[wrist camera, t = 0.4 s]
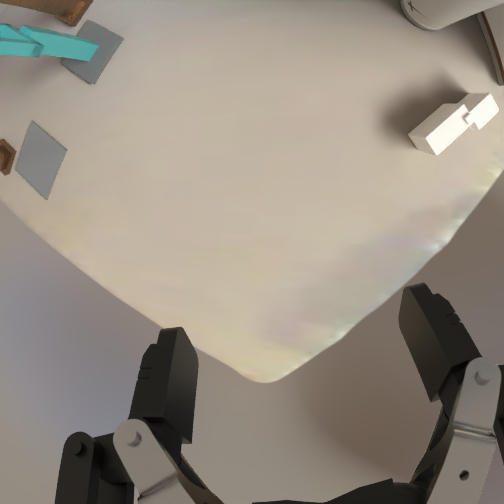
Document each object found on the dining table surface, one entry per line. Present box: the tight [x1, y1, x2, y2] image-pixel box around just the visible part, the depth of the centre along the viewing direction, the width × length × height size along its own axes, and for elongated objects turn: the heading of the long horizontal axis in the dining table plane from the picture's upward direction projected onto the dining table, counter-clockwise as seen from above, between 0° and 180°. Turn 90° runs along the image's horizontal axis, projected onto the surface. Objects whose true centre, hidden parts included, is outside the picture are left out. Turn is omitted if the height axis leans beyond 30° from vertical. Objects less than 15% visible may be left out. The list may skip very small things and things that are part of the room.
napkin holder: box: [408, 93, 499, 156], centre depth 26 cm, size 15×11×6 cm
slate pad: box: [15, 121, 67, 200], centre depth 35 cm, size 9×9×1 cm
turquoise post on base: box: [0, 20, 124, 84], centre depth 17 cm, size 8×7×24 cm
